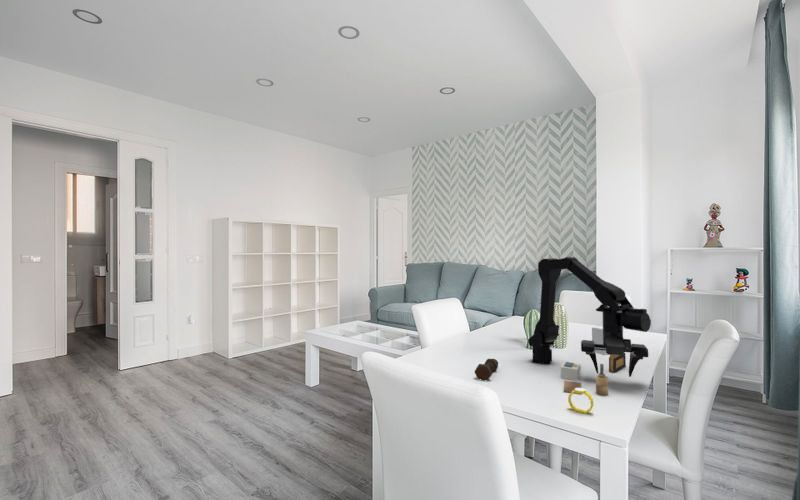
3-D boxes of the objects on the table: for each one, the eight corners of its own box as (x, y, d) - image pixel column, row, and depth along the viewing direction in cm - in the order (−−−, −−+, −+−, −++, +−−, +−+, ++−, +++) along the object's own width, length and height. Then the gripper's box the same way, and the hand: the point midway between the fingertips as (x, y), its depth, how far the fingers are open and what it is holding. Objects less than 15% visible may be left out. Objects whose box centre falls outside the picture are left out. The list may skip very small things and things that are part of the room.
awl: (596, 394, 114) (596, 365, 114) (595, 391, 117) (595, 362, 117) (608, 396, 113) (608, 366, 113) (607, 392, 115) (607, 363, 115)
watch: (568, 411, 103) (566, 389, 104) (571, 408, 105) (569, 386, 106) (592, 415, 100) (590, 392, 100) (594, 412, 102) (592, 389, 102)
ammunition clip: (614, 373, 133) (614, 338, 133) (608, 372, 135) (608, 337, 135) (625, 366, 140) (625, 334, 140) (620, 365, 142) (620, 333, 142)
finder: (561, 379, 128) (560, 365, 128) (564, 373, 134) (564, 360, 134) (577, 381, 126) (577, 368, 126) (580, 375, 132) (580, 362, 132)
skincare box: (608, 348, 166) (608, 324, 166) (622, 352, 160) (622, 327, 160) (591, 351, 162) (591, 326, 162) (605, 355, 156) (604, 329, 156)
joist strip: (563, 392, 116) (563, 391, 116) (565, 368, 139) (565, 367, 139) (581, 394, 114) (581, 393, 114) (580, 370, 137) (580, 369, 137)
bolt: (496, 373, 140) (484, 384, 127) (484, 364, 143) (472, 375, 129) (504, 360, 139) (493, 370, 126) (492, 352, 141) (480, 361, 128)
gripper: (581, 329, 121) (581, 378, 121) (651, 333, 113) (652, 386, 113) (580, 323, 131) (581, 368, 131) (644, 326, 123) (645, 375, 123)
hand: (613, 374), depth 124 cm, fingers open, 9 cm apart
